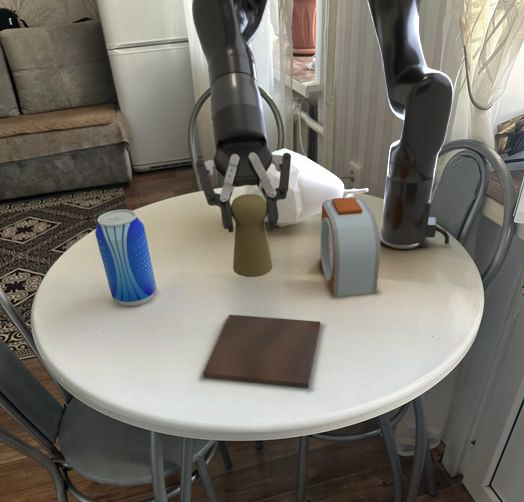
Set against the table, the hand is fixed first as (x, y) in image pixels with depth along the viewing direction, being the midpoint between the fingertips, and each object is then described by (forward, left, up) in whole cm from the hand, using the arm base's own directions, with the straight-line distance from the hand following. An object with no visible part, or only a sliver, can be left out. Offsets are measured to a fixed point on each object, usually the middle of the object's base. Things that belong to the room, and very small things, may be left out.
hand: (251, 228), depth 71 cm
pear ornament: (-2, -49, -20) cm, 53 cm away
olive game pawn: (+1, -2, -7) cm, 8 cm away
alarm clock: (-13, -24, -20) cm, 34 cm away
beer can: (+26, -11, -20) cm, 35 cm away
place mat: (-2, +2, -20) cm, 20 cm away
